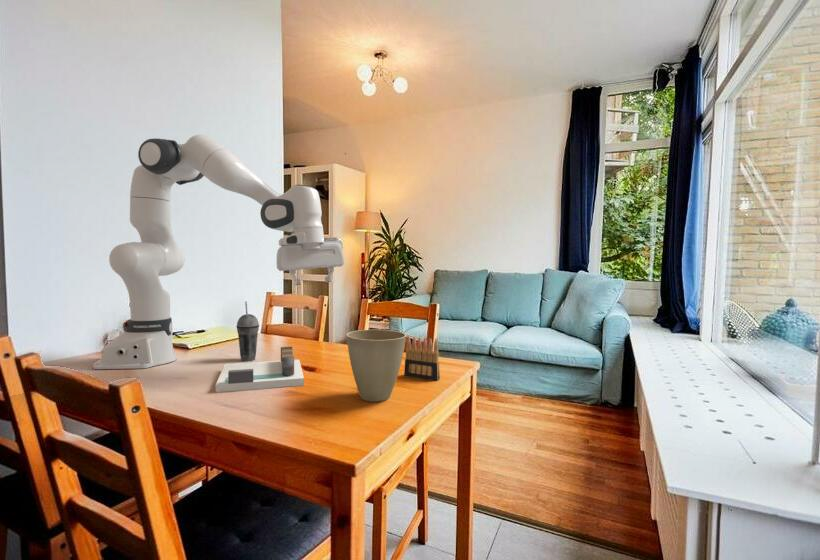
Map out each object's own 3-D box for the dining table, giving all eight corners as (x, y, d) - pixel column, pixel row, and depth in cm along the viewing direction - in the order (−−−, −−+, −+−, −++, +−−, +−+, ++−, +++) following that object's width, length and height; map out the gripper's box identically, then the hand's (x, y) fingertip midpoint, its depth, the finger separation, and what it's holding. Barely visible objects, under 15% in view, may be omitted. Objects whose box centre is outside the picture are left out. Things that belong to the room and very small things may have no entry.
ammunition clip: (439, 379, 122) (440, 338, 121) (437, 381, 120) (437, 339, 119) (406, 374, 126) (407, 335, 126) (404, 376, 125) (404, 336, 124)
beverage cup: (263, 357, 145) (263, 300, 144) (253, 363, 137) (253, 302, 136) (243, 357, 145) (242, 299, 144) (232, 362, 138) (231, 302, 137)
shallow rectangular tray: (215, 392, 107) (215, 373, 107) (225, 370, 128) (224, 354, 128) (304, 385, 114) (304, 367, 114) (299, 365, 135) (299, 350, 135)
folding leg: (294, 375, 116) (294, 358, 115) (281, 375, 114) (281, 359, 114) (292, 359, 133) (291, 345, 132) (280, 360, 132) (280, 346, 131)
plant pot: (382, 411, 95) (383, 342, 94) (333, 399, 103) (333, 335, 102) (416, 394, 108) (417, 332, 107) (370, 384, 116) (371, 327, 115)
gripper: (339, 237, 135) (342, 280, 136) (273, 240, 126) (277, 286, 126) (345, 236, 129) (348, 280, 130) (276, 239, 120) (281, 287, 121)
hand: (313, 283), depth 128 cm, fingers open, 8 cm apart
